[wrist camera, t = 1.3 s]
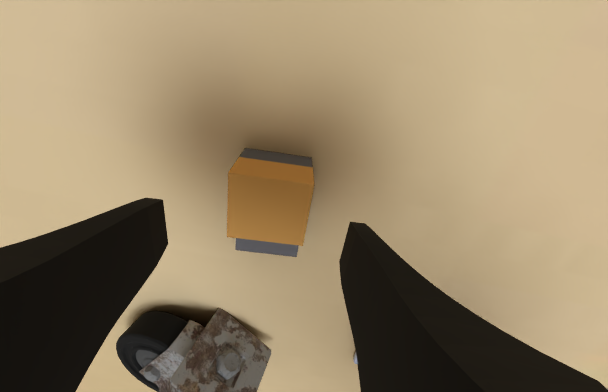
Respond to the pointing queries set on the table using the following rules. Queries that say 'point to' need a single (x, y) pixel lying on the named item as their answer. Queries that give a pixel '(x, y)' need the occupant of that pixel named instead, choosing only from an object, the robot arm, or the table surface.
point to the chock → (269, 201)
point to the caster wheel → (193, 354)
